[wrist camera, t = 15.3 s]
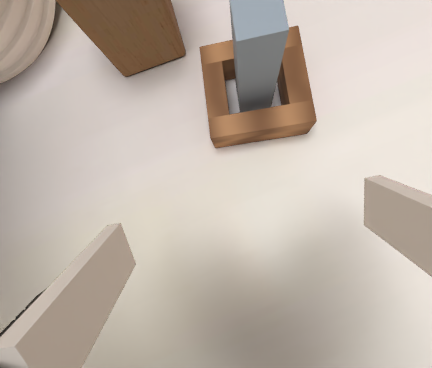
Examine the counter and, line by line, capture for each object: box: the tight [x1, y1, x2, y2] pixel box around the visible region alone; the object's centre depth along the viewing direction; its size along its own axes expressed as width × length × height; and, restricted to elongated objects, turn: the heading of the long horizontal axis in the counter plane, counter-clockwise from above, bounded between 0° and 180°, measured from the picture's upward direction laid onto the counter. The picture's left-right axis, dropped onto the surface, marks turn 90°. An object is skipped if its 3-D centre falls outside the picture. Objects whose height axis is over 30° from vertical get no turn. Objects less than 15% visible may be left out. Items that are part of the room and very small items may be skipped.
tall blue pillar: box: [230, 0, 289, 113], centre depth 23 cm, size 4×4×13 cm
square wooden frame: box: [200, 26, 317, 148], centre depth 28 cm, size 12×12×4 cm
